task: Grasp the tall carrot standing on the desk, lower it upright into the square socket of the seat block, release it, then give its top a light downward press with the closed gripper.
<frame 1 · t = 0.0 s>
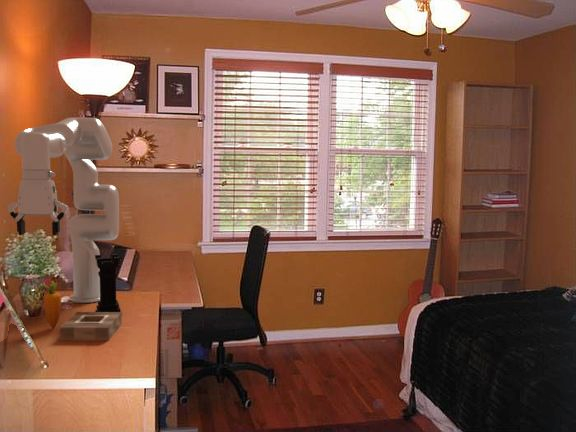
hand: (38, 234, 177), 31 cm above the table, fingers open, 9 cm apart
chess piece: (108, 314, 207), on the table
carrot: (53, 329, 190), on the table
seat block: (92, 332, 187), on the table
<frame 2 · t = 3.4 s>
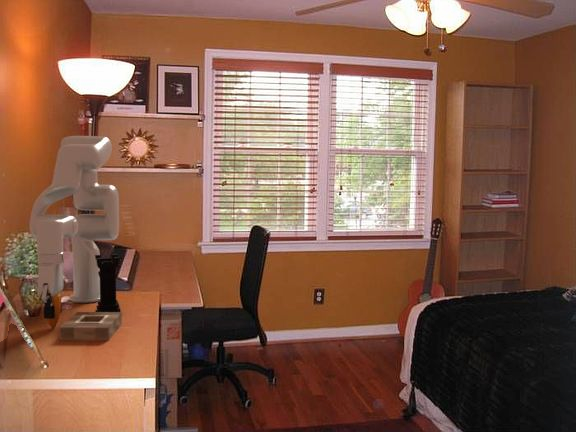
hand: (52, 315, 190), 4 cm above the table, fingers closed on carrot, 4 cm apart
carrot: (53, 329, 190), on the table, touching gripper
everything else where it was.
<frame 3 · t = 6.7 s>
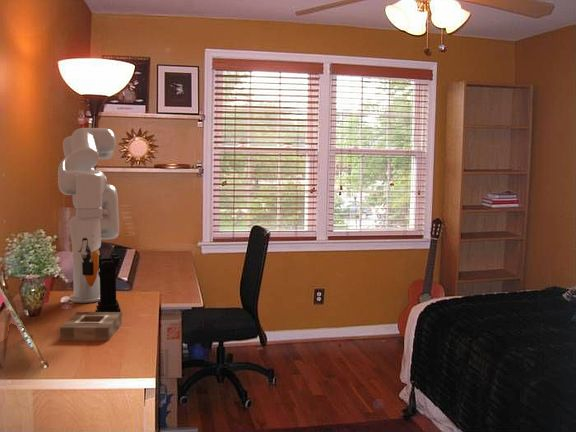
hand: (90, 272, 185), 19 cm above the table, fingers closed on carrot, 4 cm apart
carrot: (91, 286, 186), point 14 cm above the table, touching gripper
everything else where it was.
when the fingers open (5 cm above the table, at t = 10.3 s): carrot stays where it is, resting in seat block.
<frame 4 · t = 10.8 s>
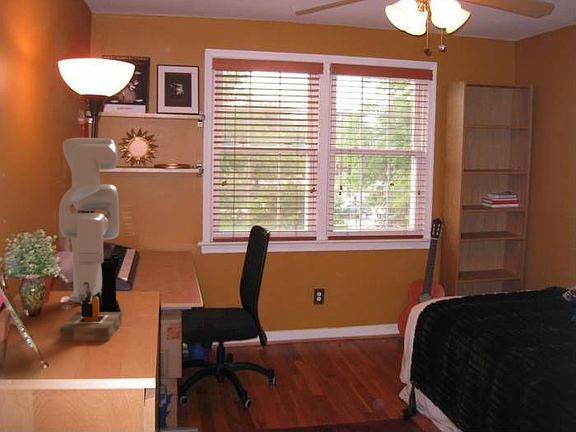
hand: (91, 312, 187), 6 cm above the table, fingers open, 9 cm apart
carrot: (92, 332, 187), resting in seat block
everything else where it was.
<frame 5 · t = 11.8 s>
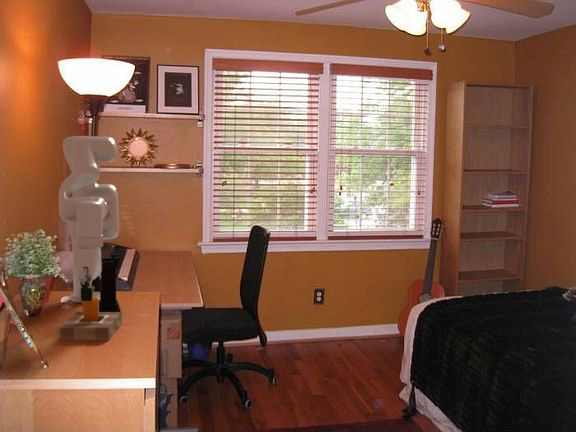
hand: (91, 296, 187), 11 cm above the table, fingers open, 9 cm apart
nothing on the table moved.
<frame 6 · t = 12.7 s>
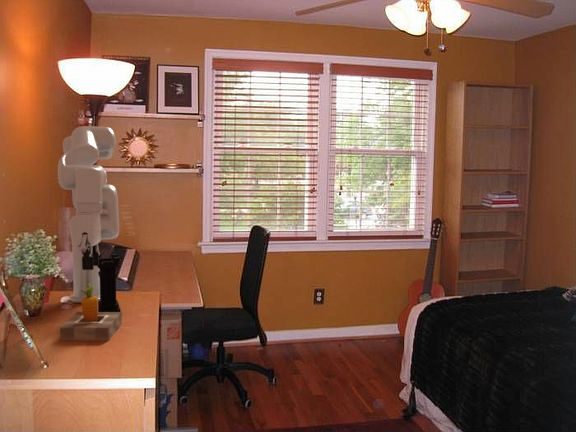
hand: (90, 267, 185), 20 cm above the table, fingers open, 5 cm apart
nothing on the table moved.
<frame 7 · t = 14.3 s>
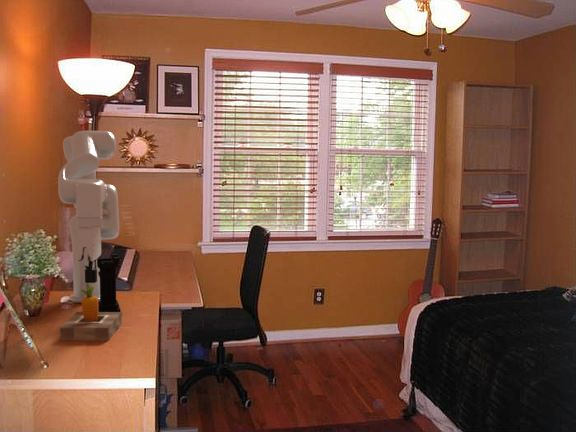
hand: (91, 282, 186), 16 cm above the table, fingers closed
nothing on the table moved.
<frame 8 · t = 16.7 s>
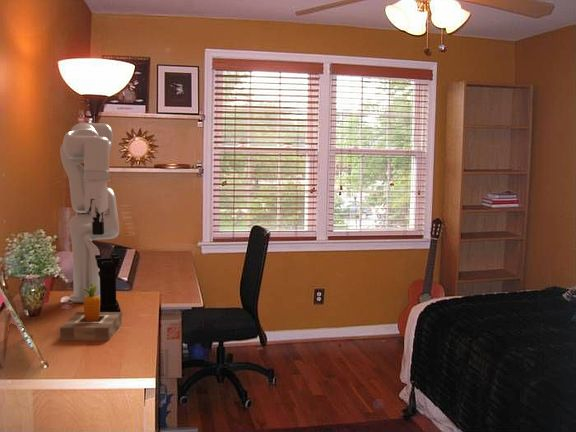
hand: (98, 234, 193), 29 cm above the table, fingers closed
at the end: carrot 0.2 cm off-centre on the seat block, point 0.0 cm above the seat block's base; carrot tilted 2°; the gripper is holding nothing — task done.
